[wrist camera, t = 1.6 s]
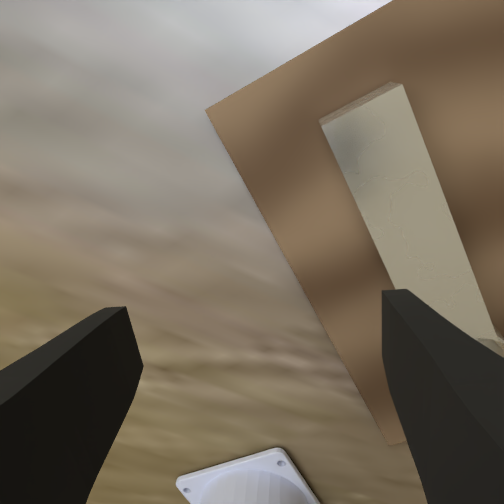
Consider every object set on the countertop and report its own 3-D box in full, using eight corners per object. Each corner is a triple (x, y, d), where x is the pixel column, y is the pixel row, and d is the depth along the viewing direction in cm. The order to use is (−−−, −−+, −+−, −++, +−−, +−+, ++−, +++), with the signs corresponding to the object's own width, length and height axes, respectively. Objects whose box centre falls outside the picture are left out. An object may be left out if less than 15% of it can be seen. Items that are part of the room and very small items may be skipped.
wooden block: (510, 363, 21) (548, 416, 17) (430, 388, 22) (452, 442, 19) (402, 75, 16) (429, 77, 13) (307, 125, 17) (309, 139, 14)
